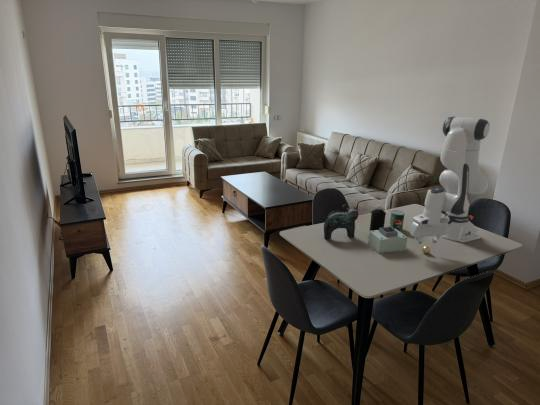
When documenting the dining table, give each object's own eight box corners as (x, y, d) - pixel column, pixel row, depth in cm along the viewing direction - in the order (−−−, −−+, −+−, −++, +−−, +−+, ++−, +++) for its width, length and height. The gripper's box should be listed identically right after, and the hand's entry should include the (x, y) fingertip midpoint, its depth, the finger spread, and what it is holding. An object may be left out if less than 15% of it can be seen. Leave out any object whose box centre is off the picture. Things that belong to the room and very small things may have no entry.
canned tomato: (393, 225, 236) (395, 209, 233) (404, 229, 231) (407, 212, 227) (386, 228, 231) (388, 212, 227) (398, 232, 226) (400, 215, 222)
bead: (426, 251, 202) (427, 244, 201) (431, 254, 199) (432, 247, 197) (420, 252, 202) (421, 245, 200) (424, 255, 198) (425, 248, 197)
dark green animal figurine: (353, 234, 223) (356, 202, 216) (358, 238, 217) (361, 205, 210) (321, 236, 218) (324, 204, 212) (326, 241, 212) (328, 208, 206)
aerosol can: (383, 242, 213) (387, 208, 206) (368, 240, 214) (372, 207, 208) (382, 236, 220) (386, 204, 214) (367, 234, 222) (371, 202, 215)
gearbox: (393, 241, 214) (395, 224, 210) (405, 250, 203) (408, 232, 199) (367, 243, 210) (369, 226, 207) (378, 253, 199) (380, 235, 196)
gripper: (444, 215, 199) (439, 239, 203) (410, 217, 194) (406, 241, 198) (452, 219, 193) (447, 244, 197) (417, 221, 188) (413, 247, 192)
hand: (426, 243), depth 198 cm, fingers open, 8 cm apart
